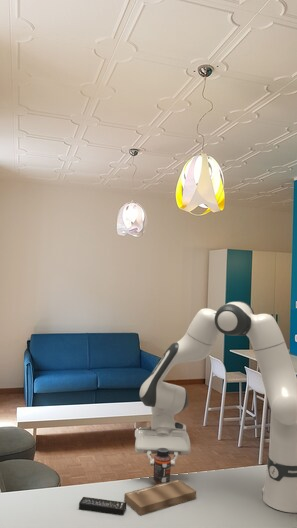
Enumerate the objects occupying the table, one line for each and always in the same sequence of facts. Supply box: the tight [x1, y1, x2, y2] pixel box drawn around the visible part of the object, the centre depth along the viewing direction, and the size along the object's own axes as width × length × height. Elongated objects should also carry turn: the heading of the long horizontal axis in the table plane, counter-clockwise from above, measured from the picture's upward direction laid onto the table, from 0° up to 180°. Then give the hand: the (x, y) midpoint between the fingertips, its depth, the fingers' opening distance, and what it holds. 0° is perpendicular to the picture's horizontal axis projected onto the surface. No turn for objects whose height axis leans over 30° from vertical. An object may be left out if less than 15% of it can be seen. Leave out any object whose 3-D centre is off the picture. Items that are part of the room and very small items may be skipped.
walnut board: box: [123, 478, 197, 516], centre depth 149 cm, size 22×10×3 cm, turn 123°
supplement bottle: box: [152, 448, 172, 485], centre depth 160 cm, size 6×6×11 cm
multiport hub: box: [78, 496, 128, 516], centre depth 142 cm, size 4×14×2 cm, turn 80°
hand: (162, 465), depth 159 cm, fingers closed on supplement bottle, 6 cm apart
